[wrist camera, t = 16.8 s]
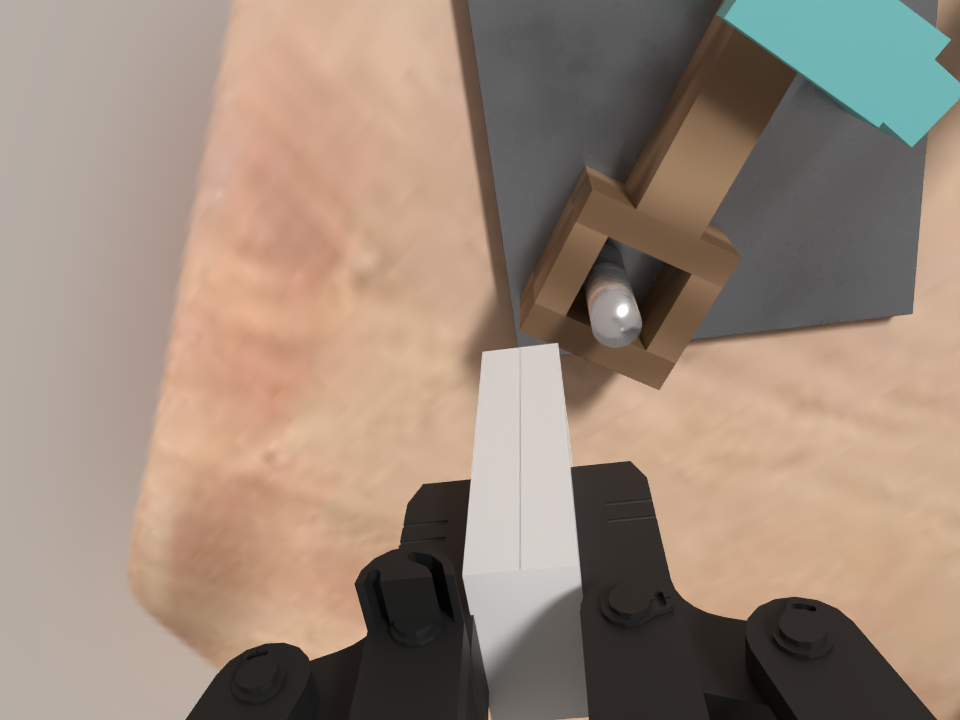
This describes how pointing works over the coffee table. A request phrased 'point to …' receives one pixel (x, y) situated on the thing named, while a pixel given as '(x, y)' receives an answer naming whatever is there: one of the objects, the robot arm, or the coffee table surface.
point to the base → (746, 206)
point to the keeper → (857, 57)
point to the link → (662, 211)
